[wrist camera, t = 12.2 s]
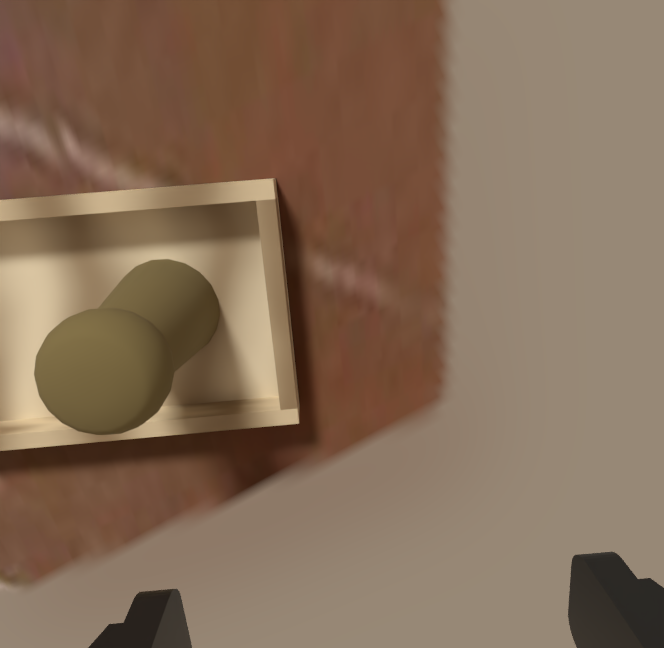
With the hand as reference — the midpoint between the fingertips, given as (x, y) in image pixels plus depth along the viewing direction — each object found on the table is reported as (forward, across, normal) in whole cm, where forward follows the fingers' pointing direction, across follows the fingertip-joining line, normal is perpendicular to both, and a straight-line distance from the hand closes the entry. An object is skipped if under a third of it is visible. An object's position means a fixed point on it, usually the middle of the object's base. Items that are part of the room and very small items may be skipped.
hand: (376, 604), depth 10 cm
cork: (+20, +10, -2) cm, 23 cm away
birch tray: (+21, +15, -1) cm, 26 cm away
